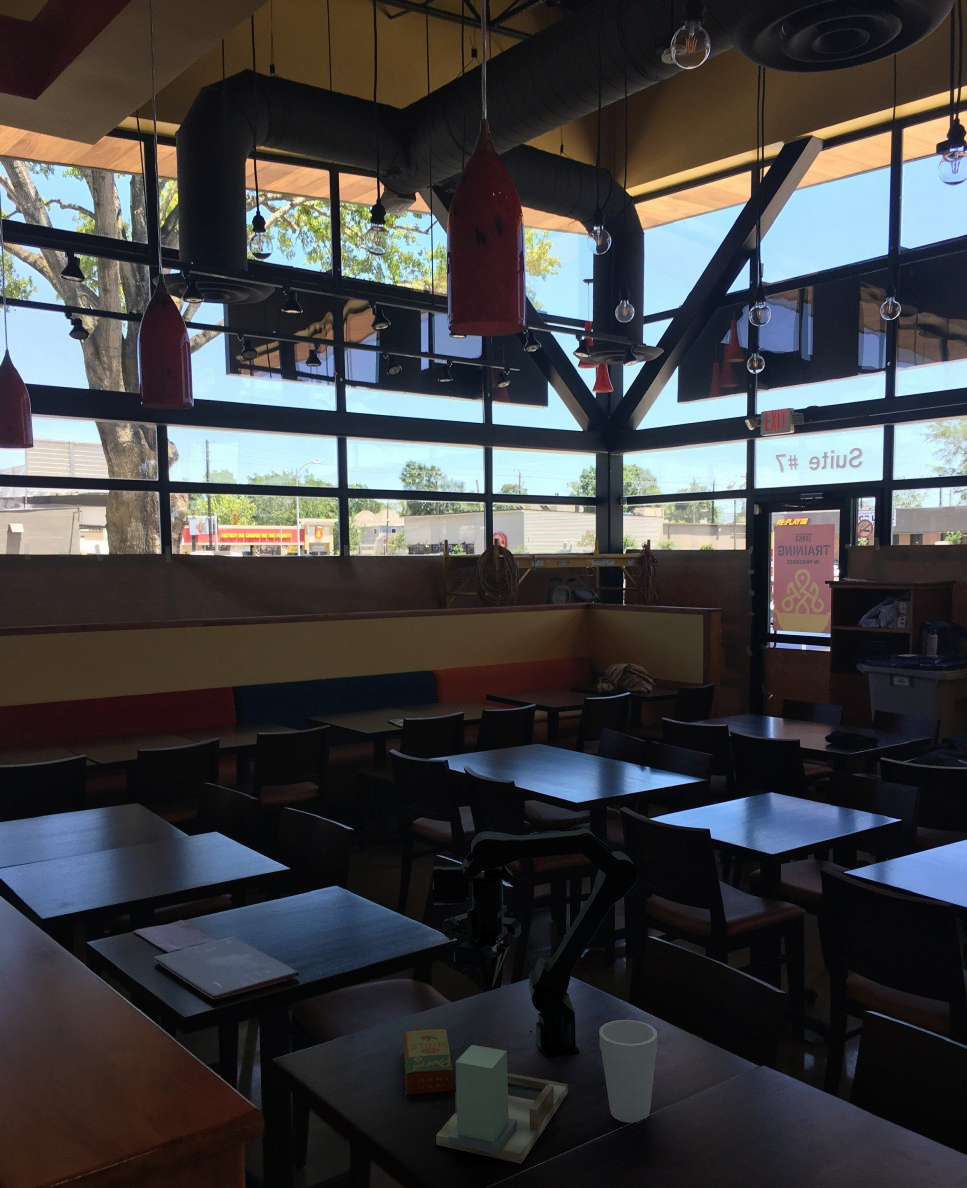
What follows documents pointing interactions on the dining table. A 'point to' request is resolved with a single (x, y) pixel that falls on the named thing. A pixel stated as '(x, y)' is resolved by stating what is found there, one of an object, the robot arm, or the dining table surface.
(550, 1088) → the track
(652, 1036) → the foam cup
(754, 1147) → the dining table surface
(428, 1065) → the carton
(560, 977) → the robot arm
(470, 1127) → the tall sage green block
